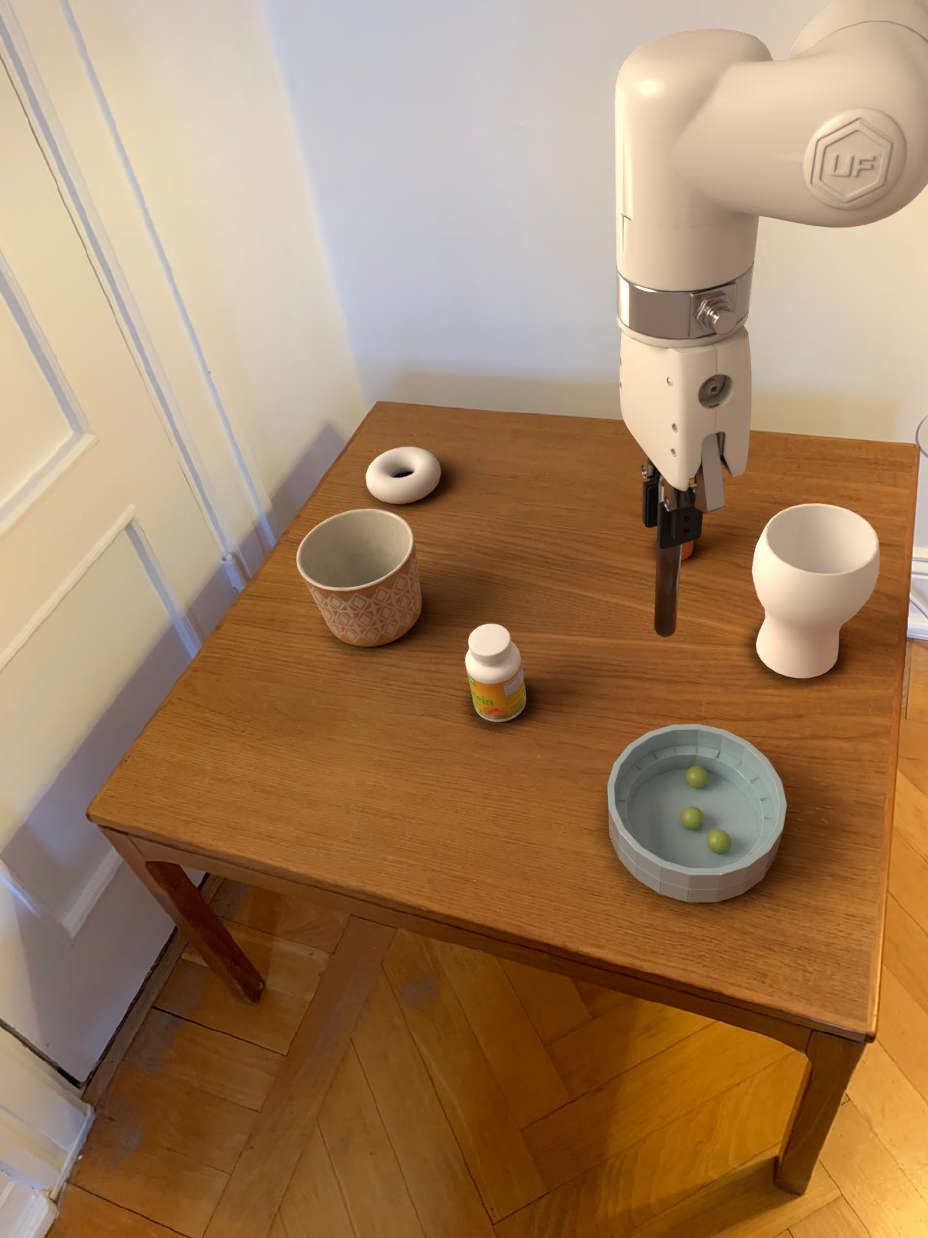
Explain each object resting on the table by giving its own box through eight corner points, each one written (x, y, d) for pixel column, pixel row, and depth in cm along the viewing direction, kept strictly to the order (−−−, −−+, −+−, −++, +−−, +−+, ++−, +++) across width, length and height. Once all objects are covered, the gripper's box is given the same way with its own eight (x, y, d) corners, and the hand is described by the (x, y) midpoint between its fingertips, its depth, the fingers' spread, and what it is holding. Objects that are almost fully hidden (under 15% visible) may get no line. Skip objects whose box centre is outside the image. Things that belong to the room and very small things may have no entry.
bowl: (730, 741, 80) (736, 705, 76) (809, 876, 70) (820, 844, 66) (586, 784, 79) (584, 750, 75) (646, 927, 69) (647, 897, 65)
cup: (739, 684, 84) (755, 576, 73) (742, 606, 91) (757, 496, 80) (856, 696, 81) (891, 584, 71) (850, 614, 88) (881, 501, 77)
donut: (457, 475, 114) (400, 453, 118) (454, 454, 111) (396, 432, 116) (410, 519, 109) (353, 494, 114) (405, 498, 106) (347, 474, 111)
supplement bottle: (463, 705, 87) (448, 642, 80) (499, 672, 90) (488, 609, 82) (501, 733, 84) (489, 670, 77) (537, 699, 87) (529, 635, 79)
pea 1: (713, 781, 77) (701, 762, 77) (712, 781, 75) (699, 761, 75) (694, 792, 77) (682, 773, 78) (692, 792, 75) (680, 772, 76)
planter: (446, 584, 100) (431, 515, 92) (405, 665, 92) (385, 598, 84) (349, 568, 104) (328, 501, 96) (302, 645, 96) (275, 579, 89)
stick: (670, 622, 71) (679, 459, 59) (679, 638, 70) (691, 474, 58) (650, 629, 71) (655, 466, 59) (659, 644, 70) (666, 481, 58)
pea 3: (719, 834, 73) (704, 851, 73) (713, 820, 72) (699, 837, 72) (738, 846, 72) (723, 862, 71) (733, 831, 71) (718, 848, 70)
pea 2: (697, 811, 75) (699, 799, 74) (707, 830, 74) (709, 819, 72) (676, 817, 75) (677, 806, 73) (685, 837, 74) (686, 825, 72)
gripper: (817, 337, 44) (773, 587, 58) (683, 225, 55) (672, 458, 68) (681, 375, 44) (669, 619, 57) (573, 254, 54) (584, 483, 68)
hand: (671, 529), depth 63 cm, fingers closed on stick, 1 cm apart
